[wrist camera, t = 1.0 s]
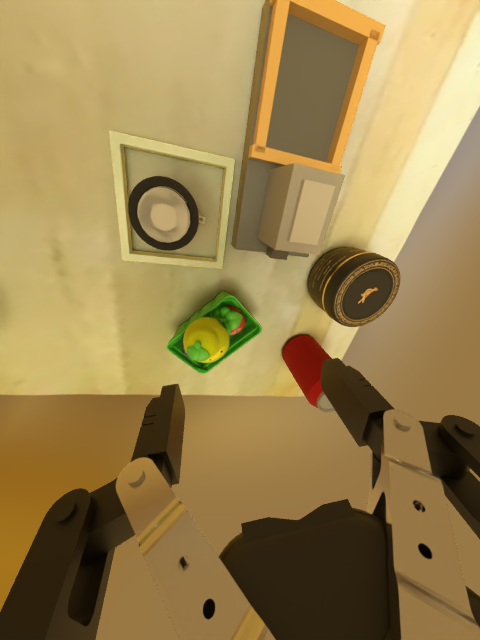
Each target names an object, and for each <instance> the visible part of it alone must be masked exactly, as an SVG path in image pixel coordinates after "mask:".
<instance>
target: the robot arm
mask: <svg viewBox="0 0 480 640" xmlns="http://www.w3.org/2000/svg"><path fill="white" fill-rule="evenodd" d="M320 383H321V388H322V390H323V392H324V394H325V395H326V397H327V398H328V400H329V401H330V403H331V404H332V406H333V407H334V409H335V411H336V412H337V414H338V415H339V417H340V418H341V420H342V421H343V423H344V424H345V426H346V427H347V429H348V430H349V432H350V433H351V435H352V436H353V438H354V439H355V441H356V443H357V444H358V445H359V446H360V447H361V446H365V445H368V446H369V447H370V448H371V454H370V492H369V493H370V494H369V500H368V505H367V512H365V511H363V510H360V509H356V508H352V507H351V505H350V503H349V501H348V499H346V500H342V501H337V502H332V503H328V504H324V505H322V506H320V507H318V508H317V509H315V510H314V511H312V512H311V513H309V514H308V515H306V516H305V517H303V518H302V519H300V520H289V519H279V518H270V517H268V518H263V519H259V520H255V521H251V522H246V523H242V524H241V525H242V533H240V534H239V535H237V536H236V537H235V538H234V539H232V540H231V541H230V542H229V543H228V545H227V546H226V547H225V548H224V549H223V551H222V552H221V554H220V555H219V557H218V556H217V554H216V552H215V551H214V549H213V548H212V546H211V545H210V544H209V542H208V541H207V539H206V537H205V536H204V534H203V533H202V532H201V530H200V528H199V527H198V525H197V524H196V522H195V521H194V519H193V518H192V516H191V515H190V513H189V512H188V510H187V509H186V507H185V506H184V505H183V503H182V502H180V501H179V500H178V498H177V497H176V496H175V494H174V493H173V491H172V489H171V486H172V485H174V484H178V483H179V478H180V466H181V454H182V443H183V432H184V420H185V408H184V403H183V399H182V395H181V392H180V388H179V385H178V384H173V385H167V386H163V387H162V391H161V395H160V397H158V398H153V399H152V400H151V402H150V403H149V405H148V406H147V407H146V411H145V414H144V419H143V422H142V427H141V428H140V432H139V436H138V439H137V443H136V446H135V449H134V453H133V457H132V459H131V462H130V463H129V464H128V465H127V466H126V467H125V468H124V469H123V470H122V471H121V473H120V475H119V476H118V478H116V479H115V480H114V481H112V482H110V483H108V484H107V485H104V486H103V487H101V488H99V489H97V490H95V491H93V492H91V493H89V492H88V491H87V490H85V489H75V490H72V491H70V492H68V493H67V494H65V495H63V496H62V497H61V498H60V499H59V500H57V501H56V502H55V503H54V504H53V506H52V507H51V508H50V509H49V511H48V512H47V514H46V516H45V517H44V519H43V522H42V524H41V526H40V528H39V530H38V533H37V535H36V537H35V539H34V541H33V543H32V545H31V547H30V550H29V552H28V554H27V556H26V558H25V560H24V563H23V564H22V567H21V569H20V571H19V573H18V575H17V577H16V579H15V582H14V584H13V586H12V588H11V590H10V592H9V595H8V597H7V599H6V601H5V603H4V605H3V608H2V610H1V612H0V640H95V638H96V634H97V629H98V625H99V620H100V615H101V610H102V606H103V601H104V597H105V592H106V587H107V582H108V578H109V573H110V569H111V564H112V560H113V554H114V550H115V547H117V546H118V545H120V544H121V543H123V542H124V541H126V540H128V539H129V538H131V537H132V536H134V535H136V537H137V539H138V541H139V548H140V550H141V553H142V555H143V558H144V560H145V562H146V565H147V567H148V569H149V571H150V573H151V576H152V578H153V581H154V583H155V585H156V587H157V590H158V592H159V594H160V596H161V599H162V601H163V603H164V606H165V608H166V610H167V612H168V615H169V617H170V619H171V622H172V624H173V626H174V628H175V631H176V633H177V635H178V638H179V640H480V596H478V595H477V594H476V593H474V592H473V591H472V590H471V589H469V588H468V587H467V586H466V585H465V582H464V578H463V573H462V569H461V564H460V560H459V556H458V551H457V546H456V542H455V538H454V533H453V529H452V524H451V520H450V516H449V511H448V507H447V503H446V498H445V496H446V497H447V498H448V499H449V501H450V502H451V503H452V504H453V506H454V507H455V508H456V510H457V511H458V512H459V513H460V515H461V516H462V517H463V518H464V520H465V521H466V522H467V524H468V525H469V526H470V527H471V529H472V530H473V531H474V532H475V534H476V535H477V536H478V538H479V539H480V482H479V481H478V480H477V479H476V478H475V476H474V475H473V474H472V473H471V472H470V471H469V470H470V468H471V469H472V470H473V471H474V472H475V473H476V474H477V475H478V476H479V477H480V427H479V426H478V425H477V424H475V423H474V422H472V421H470V420H468V419H465V418H463V417H460V416H455V415H448V416H445V417H444V418H443V419H442V421H441V422H440V423H433V422H424V421H418V420H417V419H416V418H414V417H413V416H412V415H410V414H408V413H406V412H404V411H401V410H395V409H394V408H393V407H392V406H391V405H390V404H389V403H388V402H387V401H386V400H385V399H384V397H383V396H381V394H380V393H379V392H378V391H377V390H376V389H375V388H374V387H373V386H371V384H370V383H369V382H368V381H367V380H366V379H365V378H364V377H363V375H362V374H361V373H360V372H359V371H357V370H355V369H354V368H352V367H350V366H345V365H344V364H343V363H342V361H341V360H340V359H338V358H335V359H329V360H324V361H323V364H322V372H321V380H320Z"/></svg>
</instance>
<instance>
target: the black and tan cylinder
mask: <svg viewBox="0 0 480 640" xmlns="http://www.w3.org/2000/svg"><path fill="white" fill-rule="evenodd" d="M157 186H166V187H170V188H172V189H174V190H176V191H177V192H179V193H180V194H181V195H182V196H183V197H184V199H185V200H186V202H187V203H185V201H184V200H183V199H182V198H181V197H180V196H179V195H178V194H177V193H176V192H174V191H172V190H170V189H167V188H164V187H163V188H153V187H157ZM151 188H152V189H151ZM128 214H129V218H130V222H131V224H132V226H133V228H134V230H135V231H136V233H137V234H138V235H139V237H140V238H141V239H142V240H144V241H145V242H146V243H147V244H149V245H151V246H153V247H155V248H157V249H161V250H176V249H180V248H182V247H184V246H185V245H187V244H188V243H189V242H190V241H191V240H192V239H193V237H194V236H195V234H196V231H197V228H198V223H201V224H203V225H204V224H205V222H206V217H204V216H201V215H199V214H198V209H197V206H196V203H195V201H194V199H193V197H192V196H191V194H190V193H189V192H188V190H187V189H186V188H185V187H184V186H182V185H181V184H180V183H178V182H177V181H175V180H173V179H170V178H167V177H162V176H154V177H149V178H146V179H144V180H143V181H141V182H140V183H138V184H137V185H136V186H135V188H134V189H133V191H132V193H131V195H130V198H129V202H128ZM200 218H202V219H203V220H202V221H200Z"/></svg>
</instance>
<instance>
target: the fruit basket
mask: <svg viewBox="0 0 480 640" xmlns="http://www.w3.org/2000/svg"><path fill="white" fill-rule="evenodd" d="M261 330H262V327H261V325H260V324H259V323H258V322H257V321H256V320H255V319H254V318H253V317H252V316H251V314H250V313H249V312H248V311H247V310H246V309H245V308H244V307H243V305H242V304H241V303H240V302H239V301H238V300H237V298H236V297H234V296H232V295H229V294H228V293H226V292H225V291H222V292H221V293H220V294H219V295H217V296H216V297H215V299H214V300H212V301H210V302H209V303H208V304H206V305H205V306H204V307H203V308H202V310H200V311H198V312H197V313H195V314H194V315H193V316H192V317H191V318H190V319H189V320H188V321H186V322H184V323H183V324H182V325H181V326H180V327H179V328H178V330H177V331H176V333H175V335H174V337H173V338H172V339H171V340H170V341H169V343H168V344H167V349H168V350H169V351H170V352H171V353H173V354H174V355H176V356H177V357H178V358H179V359H181V360H182V361H184V362H185V363H186V364H188V365H189V366H191V367H192V368H193V369H195V370H196V371H198V372H199V373H207V372H209V371H210V370H211V369H212V368H214V367H215V366H216V365H218V364H219V363H220V362H221V361H223V360H224V359H226V358H227V357H228V356H230V355H231V354H232V353H234V352H235V351H237V350H238V349H239V348H240V347H242V346H243V345H244V344H246V343H247V342H248V341H250V340H251V339H252V338H254V337H255V336H257V335H258V334H259V333H260V332H261Z"/></svg>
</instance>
